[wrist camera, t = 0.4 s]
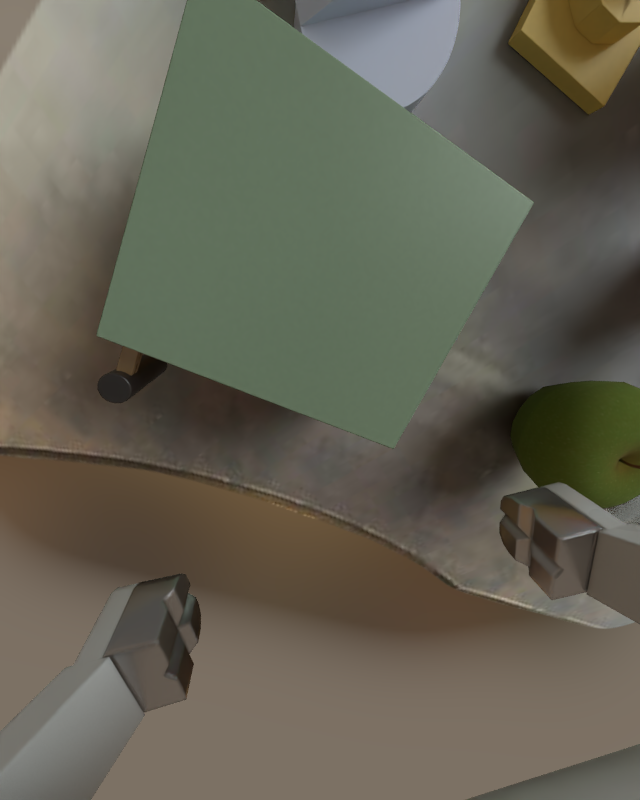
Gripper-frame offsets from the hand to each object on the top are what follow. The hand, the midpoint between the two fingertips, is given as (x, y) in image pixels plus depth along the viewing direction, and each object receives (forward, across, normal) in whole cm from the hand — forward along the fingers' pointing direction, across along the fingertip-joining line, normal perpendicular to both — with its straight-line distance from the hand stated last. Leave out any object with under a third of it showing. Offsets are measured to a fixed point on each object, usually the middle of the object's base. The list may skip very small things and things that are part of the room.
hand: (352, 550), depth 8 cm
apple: (+20, -22, +9) cm, 31 cm away
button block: (+20, -24, -21) cm, 37 cm away
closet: (+19, -2, -7) cm, 21 cm away
